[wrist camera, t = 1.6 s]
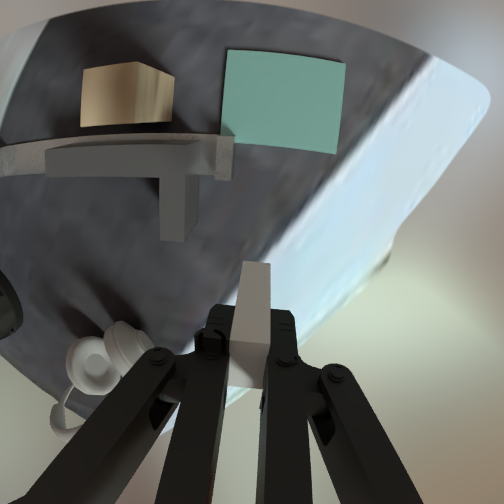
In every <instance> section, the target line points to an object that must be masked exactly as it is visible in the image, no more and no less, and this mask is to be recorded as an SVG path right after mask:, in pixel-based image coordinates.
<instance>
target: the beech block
mask: <svg viewBox="0 0 504 504" xmlns="http://www.w3.org/2000/svg"><path fill="white" fill-rule="evenodd" d="M174 79H175V77H173V76H171V75H169V74H166V73H164V72H162V71H159V70H157V69H155V68H152V67H150V66H147V65H145V64H142V63H140V62H128V63H121V64H114V65H107V66H101V67H95V68H90V69H85V70H84V74H83V85H82V99H81V124H80V127H87V126H98V125H111V124H129V123H145V122H167V121H171V120H172V104H173V91H174Z"/></svg>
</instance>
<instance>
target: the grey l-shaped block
mask: <svg viewBox="0 0 504 504" xmlns="http://www.w3.org/2000/svg"><path fill="white" fill-rule="evenodd" d="M200 152H201V140H112V141H93V142H79V143H72V144H67V145H63V146H58V147H54V148H50V149H46V150H45V171H46V177H151V178H159V210H160V240H163V241H174V242H185V241H186V239H187V238H188V236H189V234H190V233H191V231H192V230H193V228H194V227H195V225H196V224H197V222H198V197H199V172H200Z"/></svg>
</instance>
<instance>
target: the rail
mask: <svg viewBox="0 0 504 504" xmlns="http://www.w3.org/2000/svg"><path fill="white" fill-rule="evenodd" d="M112 140H201V152H200V172H199V175H214V176H215V180H226V181H231V180H232V178H233V175H234V162H235V149H236V143H235V142H236V136H230V135H217V134H193V133H133V134H109V135H93V136H81V137H70V138H60V139H52V140H44V141H36V142H29V143H23V144H17V145H11V146H5V147H0V178H3V177H6V176H9V175H23V174H40V173H46V171H45V150H46V149H50V148H54V147H58V146H63V145H67V144H72V143H79V142H93V141H112Z"/></svg>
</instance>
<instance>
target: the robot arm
mask: <svg viewBox="0 0 504 504" xmlns="http://www.w3.org/2000/svg"><path fill="white" fill-rule="evenodd" d="M22 322H23V313H22V308H21V305H20V302H19V300H18V297H17V295H16V293H15V291H14V290H13V288H12V286H11V285H10V283H9V282H8V280H7V279H6V278H5V276H4V275H3V274H2V273H1V272H0V340H2V339H4V338H6V337H8V336H10V335H12V334H14V333H15V332H16V331H17V330H18V329H19V328H20V327H21V325H22ZM194 341H195V351H193V352H191V353H189V354H184V355H174V354H173V353H172V352H171V351H170V350H168V349H167V348H162V347H154V348H151V349H148V350H147V351H146V352H144V353H143V354H142V356H141V357H140V358H139V359H138V360H137V361H136V363H135V364H134V365H133V366H132V367H131V368H130V370H129V371H128V372H127V373H126V374H125V375H124V377H123V378H122V379H121V380H120V381H119V382H118V384H117V385H116V386H115V387H114V388H113V389H112V391H111V392H110V393H109V394H108V395H107V397H106V398H105V399H104V400H103V401H102V402H101V404H100V405H99V406H98V407H97V408H96V410H95V411H94V412H93V413H92V414H91V416H90V417H89V418H88V419H87V420H86V421H85V423H84V424H83V425H82V426H81V427H80V429H79V430H78V431H77V432H76V433H75V435H74V436H73V437H72V438H71V439H70V441H69V442H68V443H67V444H66V446H65V447H64V448H63V449H62V450H61V452H60V453H59V454H58V455H57V457H56V458H55V459H54V460H53V461H52V463H51V464H50V465H49V466H48V468H47V469H46V470H45V471H44V472H43V474H42V475H41V476H40V477H39V478H38V480H37V481H36V482H35V483H34V485H33V486H32V487H31V488H30V490H29V491H28V492H27V494H26V495H25V496H23V497H21V498H19V499H17V500H15V501H13V502H11V503H8V504H115V502H116V501H117V499H118V498H119V496H120V495H121V493H122V491H123V490H124V489H125V487H126V486H127V484H128V483H129V481H130V479H131V478H132V476H133V475H134V473H135V472H136V470H137V469H138V467H139V466H140V464H141V462H142V461H143V460H144V458H145V456H146V455H147V453H148V452H149V450H150V449H151V447H152V446H153V444H154V442H155V441H156V439H157V438H158V436H159V435H160V433H161V431H162V430H163V428H164V427H165V425H166V424H167V422H168V420H169V419H170V417H171V416H172V414H173V413H174V411H175V409H176V408H177V406H178V405H179V402H181V403H180V406H179V410H178V414H177V417H176V421H175V425H174V428H173V432H172V436H171V440H170V444H169V448H168V452H167V455H166V459H165V463H164V467H163V471H162V475H161V479H160V483H159V487H158V491H157V495H156V499H155V503H154V504H211V502H212V496H213V488H214V481H215V474H216V467H217V460H218V453H219V445H220V438H221V432H222V424H223V418H224V410H225V404H226V397H227V386H235V387H245V388H256V389H262V388H263V392H262V397H261V402H260V408H259V409H261V413H260V414H261V415H260V435H259V453H258V472H257V488H256V504H313V501H312V480H311V463H310V448H309V435H308V421H309V424H310V427H311V429H312V432H313V434H314V437H315V439H316V442H317V444H318V447H319V450H320V452H321V455H322V457H323V460H324V463H325V465H326V467H327V470H328V473H329V475H330V478H331V480H332V483H333V486H334V488H335V490H336V493H337V496H338V498H339V501H340V503H341V504H423V502H422V500H421V498H420V496H419V494H418V492H417V490H416V488H415V486H414V484H413V482H412V481H411V479H410V477H409V475H408V473H407V471H406V469H405V468H404V466H403V464H402V462H401V460H400V458H399V456H398V454H397V453H396V451H395V449H394V447H393V445H392V443H391V442H390V440H389V438H388V436H387V434H386V432H385V431H384V429H383V427H382V425H381V423H380V422H379V420H378V418H377V416H376V414H375V413H374V411H373V409H372V407H371V406H370V404H369V402H368V400H367V398H366V397H365V395H364V393H363V392H362V390H361V388H360V386H359V384H358V383H357V381H356V379H355V377H354V376H353V374H352V372H351V371H350V370H349V369H348V368H346V367H345V366H343V365H340V364H328V365H325V366H324V367H323V368H322V369H319V368H316V367H312V366H310V365H307V364H306V363H304V362H303V361H302V360H301V357H300V356H299V355H298V349H297V338H296V329H295V319H294V316H293V315H292V313H291V312H290V311H289V310H279V309H270V263H261V262H251V261H243V266H242V271H241V277H240V283H239V289H238V294H237V300H236V306H231V305H222V304H215V305H214V306H213V307H212V308H211V309H210V312H209V315H208V319H207V322H206V325H205V328H202V329H200V330H199V331H197V332H196V334H195V335H194ZM307 419H308V421H307Z"/></svg>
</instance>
